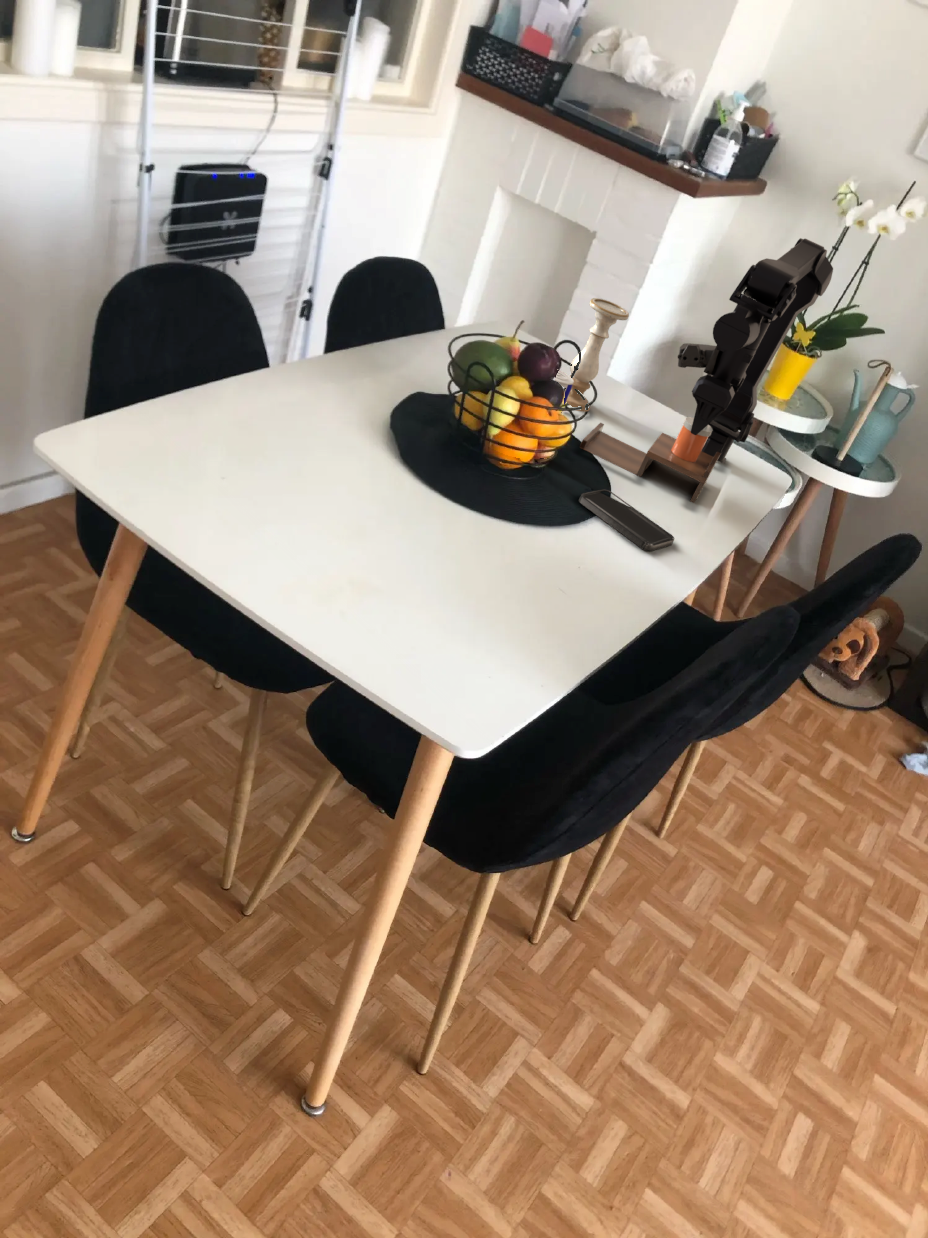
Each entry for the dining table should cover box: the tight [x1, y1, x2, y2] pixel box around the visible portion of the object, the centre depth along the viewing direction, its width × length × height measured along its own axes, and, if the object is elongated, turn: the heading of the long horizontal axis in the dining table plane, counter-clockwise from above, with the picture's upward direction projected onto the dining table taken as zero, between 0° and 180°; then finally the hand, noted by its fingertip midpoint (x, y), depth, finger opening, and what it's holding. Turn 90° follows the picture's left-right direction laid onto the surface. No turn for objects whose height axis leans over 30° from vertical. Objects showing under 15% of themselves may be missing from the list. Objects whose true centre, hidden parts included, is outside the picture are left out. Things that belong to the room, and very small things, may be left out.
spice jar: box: [671, 416, 713, 462], centre depth 174 cm, size 5×5×6 cm
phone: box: [578, 488, 675, 552], centre depth 158 cm, size 8×1×15 cm
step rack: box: [579, 422, 721, 504], centre depth 177 cm, size 12×22×7 cm, turn 66°
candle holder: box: [566, 297, 630, 413], centre depth 188 cm, size 9×9×20 cm
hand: (698, 427), depth 172 cm, fingers open, 9 cm apart
